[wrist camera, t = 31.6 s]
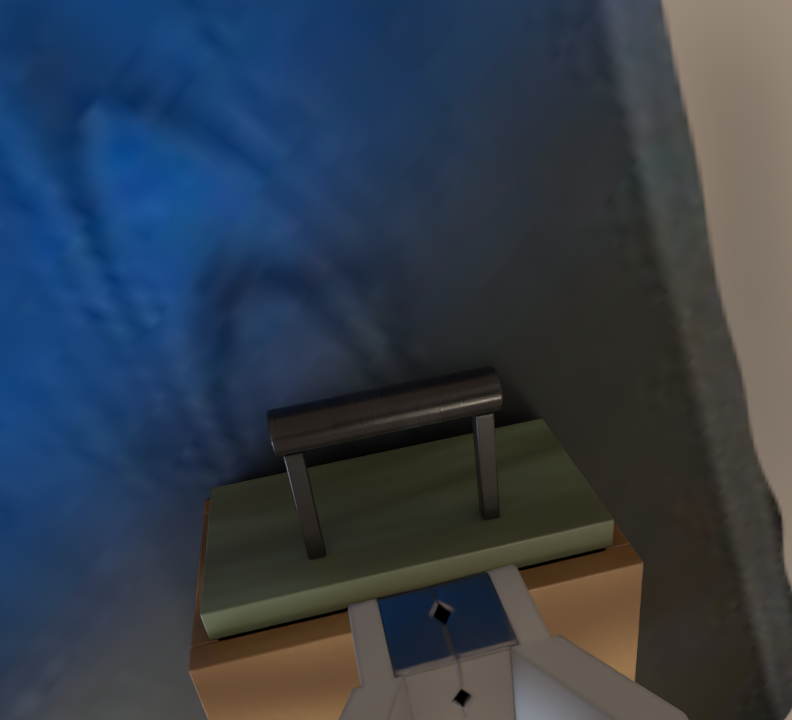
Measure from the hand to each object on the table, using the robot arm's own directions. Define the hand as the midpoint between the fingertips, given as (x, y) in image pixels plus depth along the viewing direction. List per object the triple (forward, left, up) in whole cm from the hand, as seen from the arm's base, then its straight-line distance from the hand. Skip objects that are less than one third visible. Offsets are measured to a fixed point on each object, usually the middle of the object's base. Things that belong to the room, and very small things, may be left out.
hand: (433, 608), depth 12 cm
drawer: (-3, -11, -14) cm, 18 cm away
